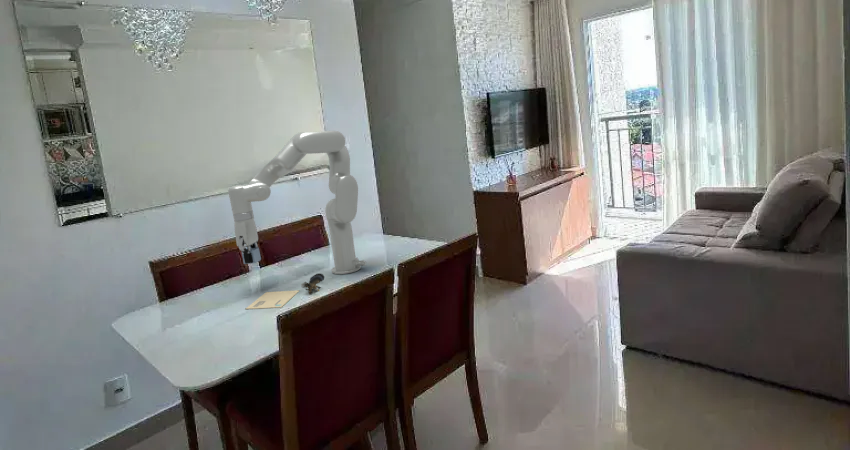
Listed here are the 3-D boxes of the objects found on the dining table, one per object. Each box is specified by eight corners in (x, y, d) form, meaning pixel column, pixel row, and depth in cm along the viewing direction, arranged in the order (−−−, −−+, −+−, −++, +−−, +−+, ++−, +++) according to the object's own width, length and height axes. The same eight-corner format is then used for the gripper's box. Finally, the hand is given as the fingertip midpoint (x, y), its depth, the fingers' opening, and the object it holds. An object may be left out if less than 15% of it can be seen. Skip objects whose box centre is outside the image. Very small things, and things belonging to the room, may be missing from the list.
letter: (299, 290, 216) (299, 290, 216) (281, 307, 198) (281, 306, 198) (266, 292, 218) (266, 292, 218) (245, 309, 201) (245, 308, 201)
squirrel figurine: (322, 291, 208) (329, 279, 217) (309, 278, 207) (317, 267, 215) (309, 301, 211) (316, 289, 219) (296, 288, 209) (303, 277, 218)
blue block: (261, 259, 220) (258, 247, 219) (255, 263, 216) (253, 250, 215) (249, 260, 221) (247, 248, 220) (243, 264, 216) (241, 252, 215)
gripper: (244, 212, 223) (253, 255, 227) (224, 222, 207) (233, 268, 211) (261, 211, 222) (270, 254, 226) (242, 220, 206) (251, 266, 210)
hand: (252, 260), depth 218 cm, fingers closed on blue block, 5 cm apart
